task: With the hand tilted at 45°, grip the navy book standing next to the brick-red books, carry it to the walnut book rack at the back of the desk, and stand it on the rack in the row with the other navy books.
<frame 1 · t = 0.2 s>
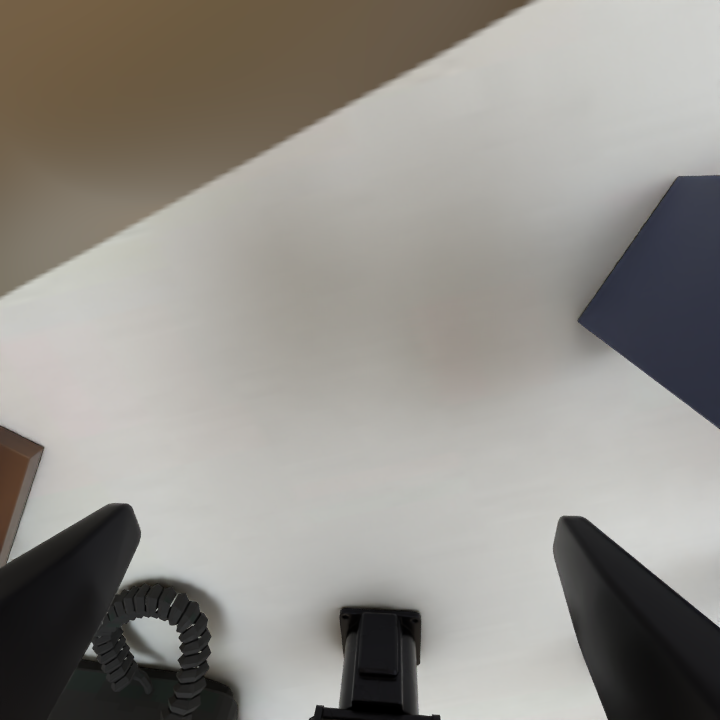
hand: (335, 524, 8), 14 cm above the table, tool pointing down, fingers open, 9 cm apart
navy book: (651, 267, 19), on the table
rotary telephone: (145, 678, 39), on the table
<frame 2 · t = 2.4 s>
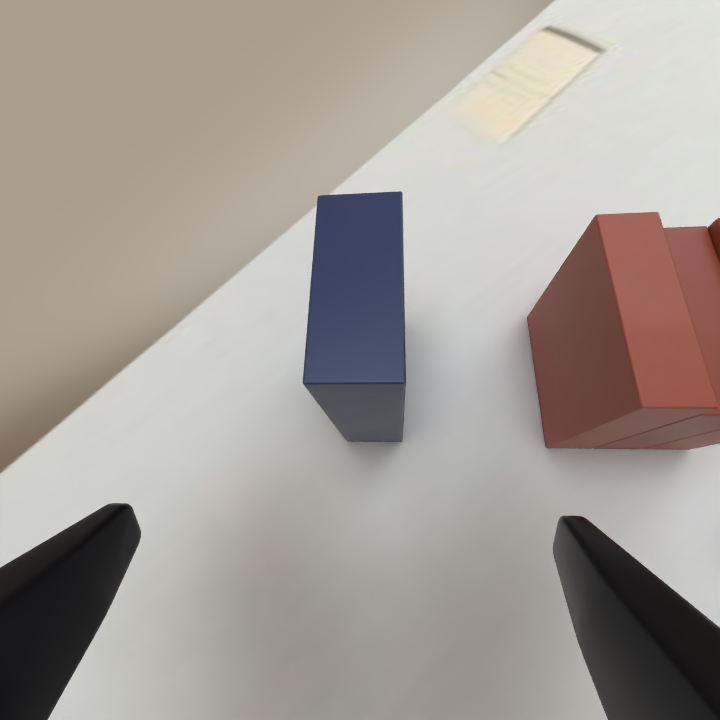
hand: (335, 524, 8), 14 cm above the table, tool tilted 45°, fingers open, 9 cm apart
navy book: (374, 379, 23), on the table
brick-red books: (601, 377, 22), on the table
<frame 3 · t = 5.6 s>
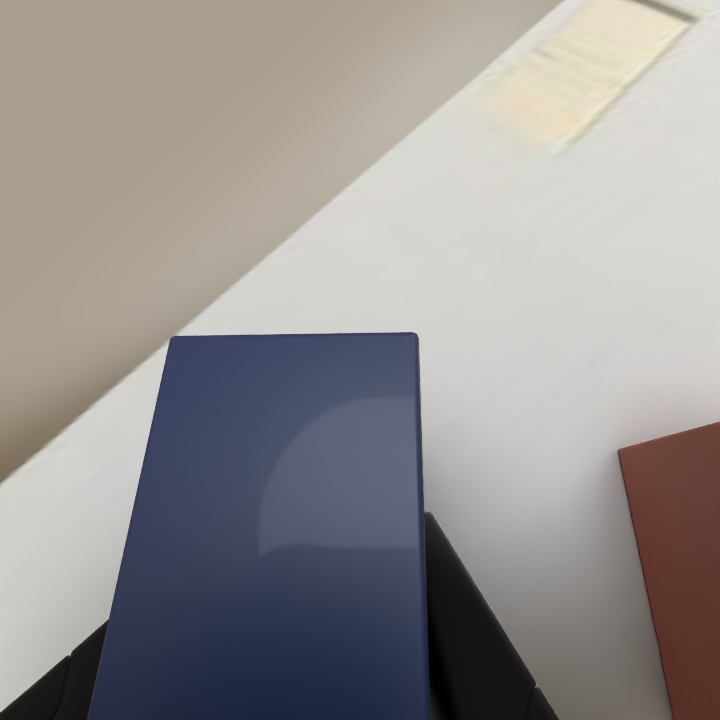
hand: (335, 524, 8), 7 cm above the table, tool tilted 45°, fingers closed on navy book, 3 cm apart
navy book: (361, 560, 14), on the table, touching gripper
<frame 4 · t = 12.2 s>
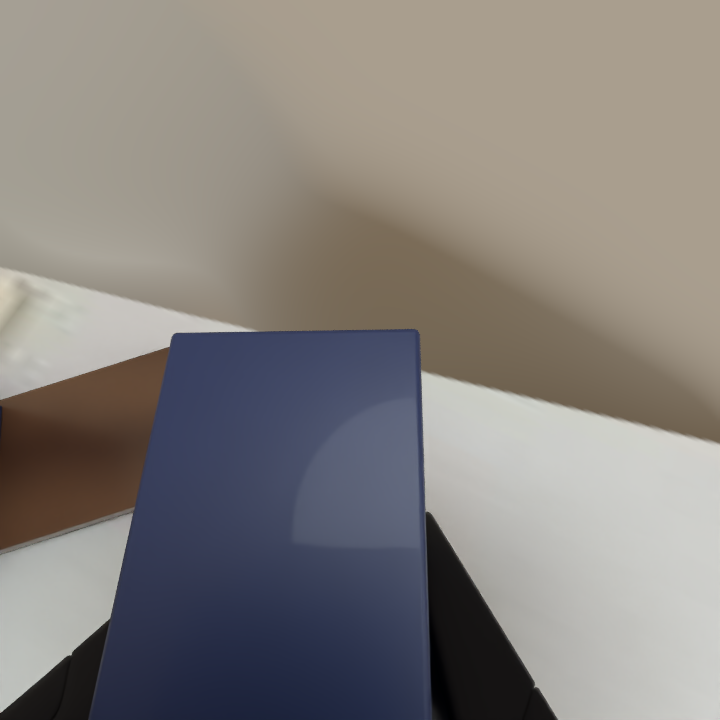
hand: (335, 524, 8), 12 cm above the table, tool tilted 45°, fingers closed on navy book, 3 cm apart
book rack: (42, 464, 22), on the table
navy book: (361, 558, 14), point 6 cm above the table, touching gripper
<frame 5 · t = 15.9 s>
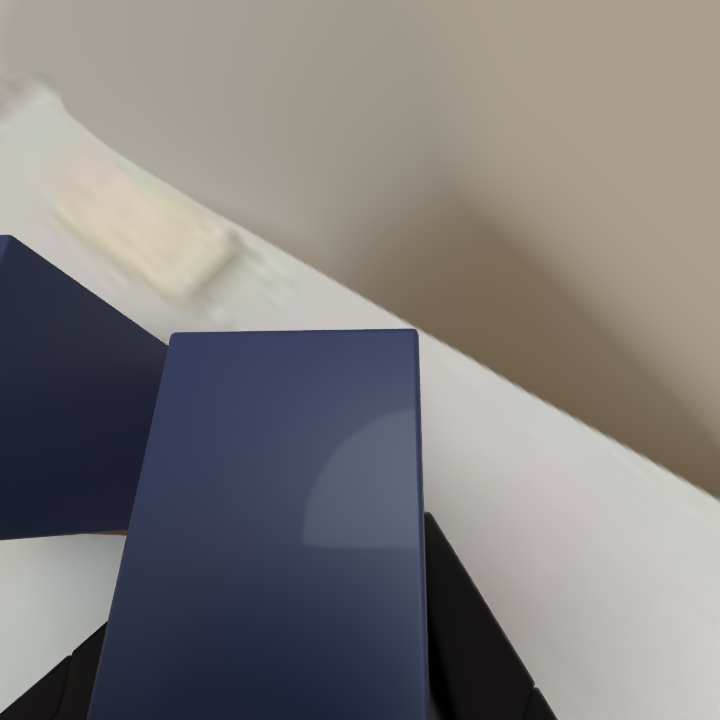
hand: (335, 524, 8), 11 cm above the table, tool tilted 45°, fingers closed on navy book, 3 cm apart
navy books: (144, 446, 20), resting on book rack
navy book: (361, 558, 14), point 4 cm above the table, touching gripper
when the fingers open (8 cm above the table, at t = 18.8 s): navy book stays where it is, resting on book rack.
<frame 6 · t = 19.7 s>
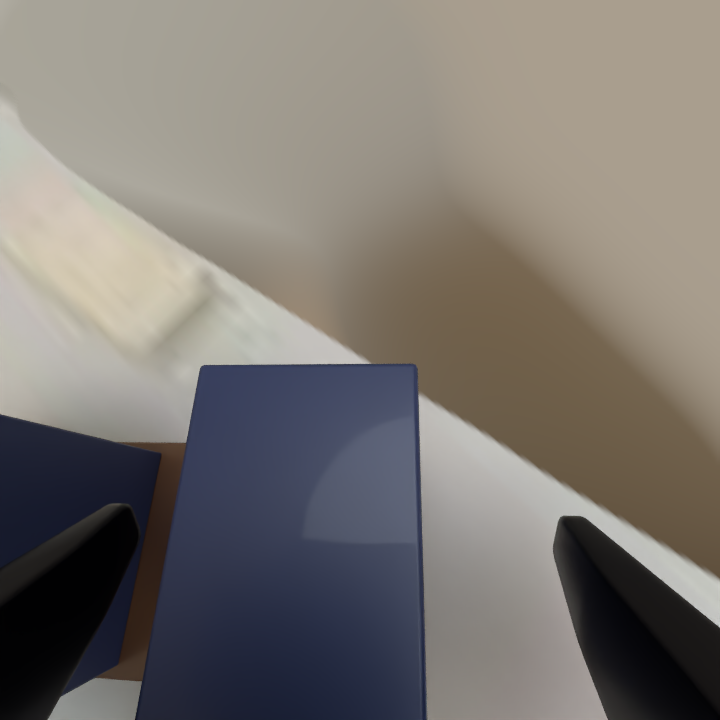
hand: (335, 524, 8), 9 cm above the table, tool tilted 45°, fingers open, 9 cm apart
navy books: (88, 544, 17), resting on book rack
book rack: (190, 548, 16), on the table
navy book: (363, 561, 14), point 1 cm above the table, touching book rack
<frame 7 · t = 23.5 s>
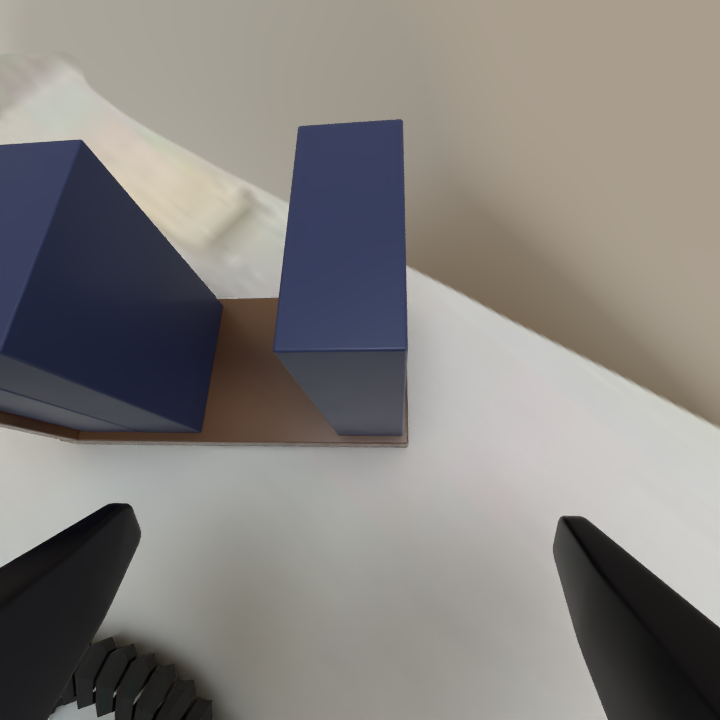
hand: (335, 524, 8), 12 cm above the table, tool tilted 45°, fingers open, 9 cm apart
navy books: (169, 372, 23), resting on book rack
book rack: (245, 372, 22), on the table
navy book: (371, 364, 21), point 1 cm above the table, touching book rack
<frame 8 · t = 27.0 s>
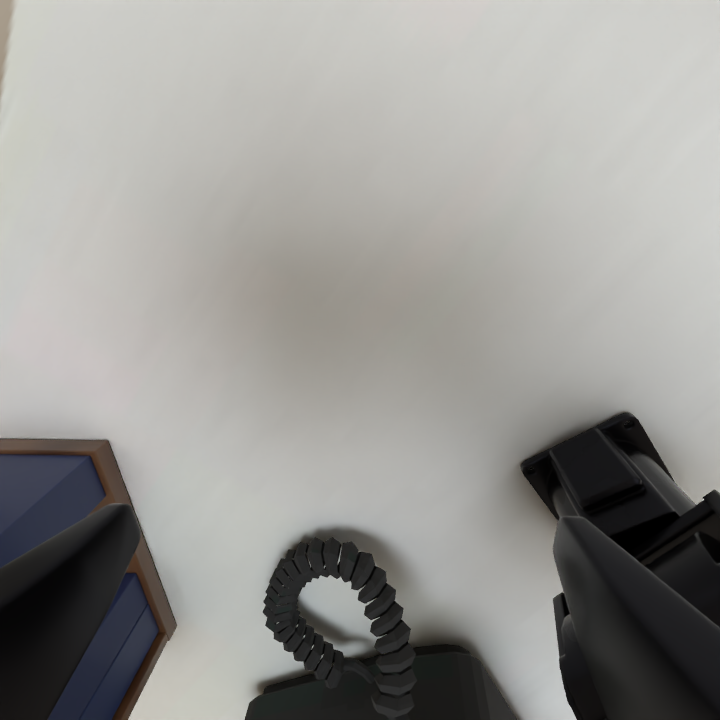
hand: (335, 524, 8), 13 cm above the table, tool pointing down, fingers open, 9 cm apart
navy books: (112, 585, 31), resting on book rack
book rack: (93, 543, 29), on the table
navy book: (43, 474, 25), point 1 cm above the table, touching book rack
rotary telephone: (369, 675, 33), on the table
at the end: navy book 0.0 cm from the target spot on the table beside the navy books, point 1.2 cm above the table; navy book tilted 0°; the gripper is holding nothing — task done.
